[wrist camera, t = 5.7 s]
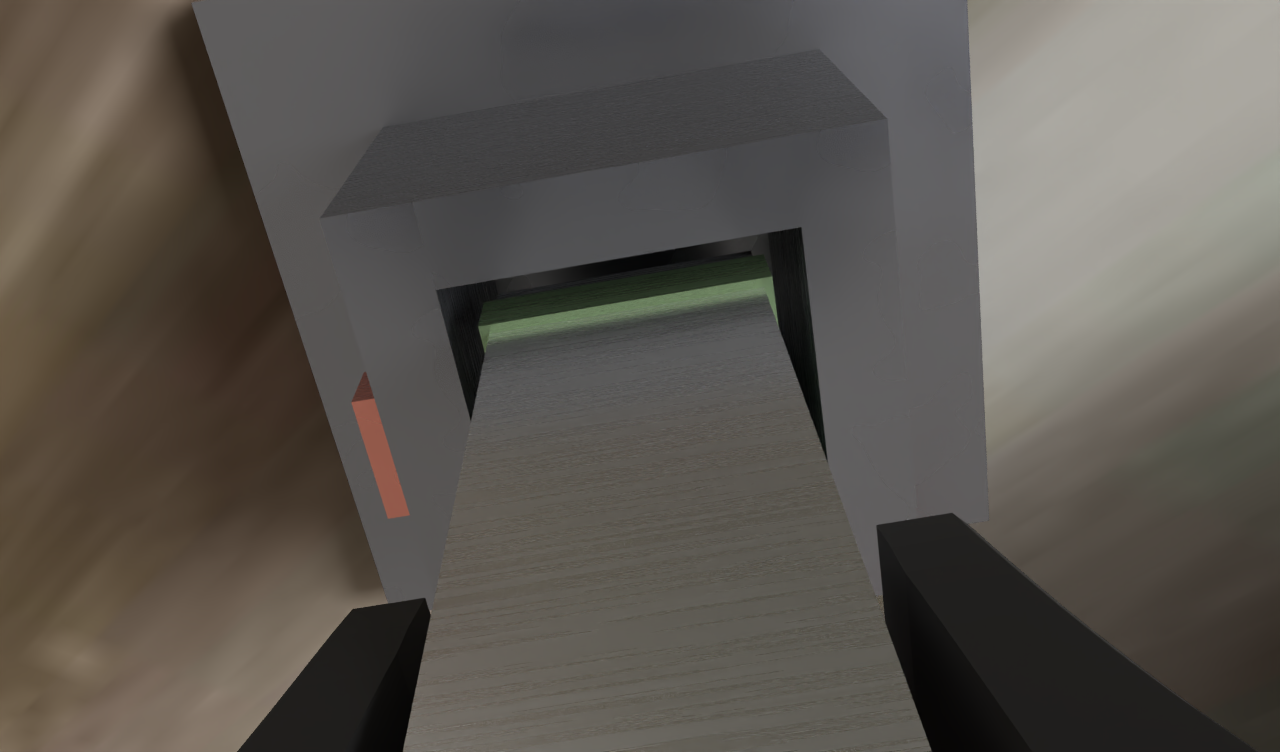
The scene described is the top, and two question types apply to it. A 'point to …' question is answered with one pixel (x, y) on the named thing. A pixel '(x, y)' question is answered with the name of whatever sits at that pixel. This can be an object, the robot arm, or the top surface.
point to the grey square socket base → (616, 214)
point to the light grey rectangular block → (652, 538)
